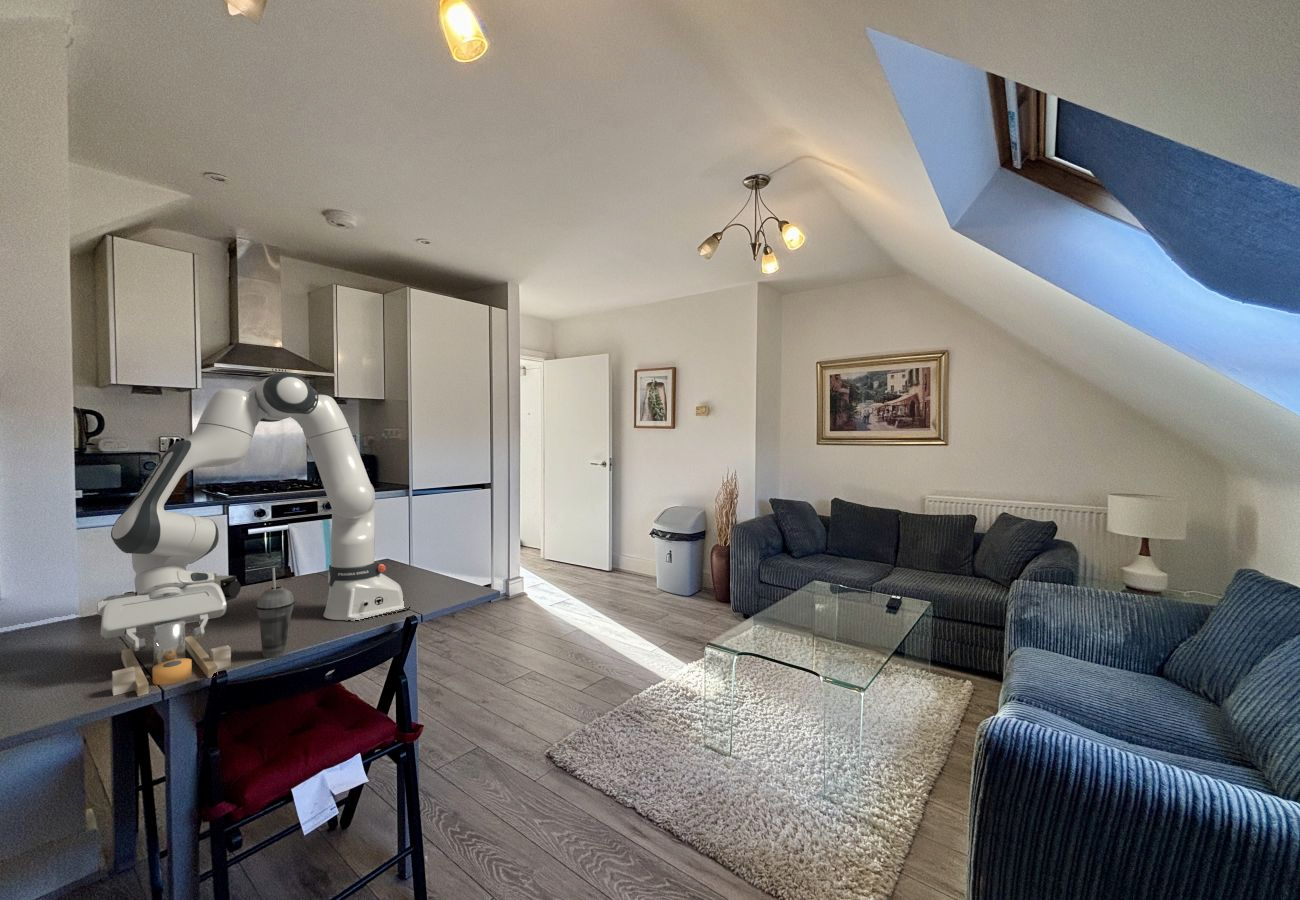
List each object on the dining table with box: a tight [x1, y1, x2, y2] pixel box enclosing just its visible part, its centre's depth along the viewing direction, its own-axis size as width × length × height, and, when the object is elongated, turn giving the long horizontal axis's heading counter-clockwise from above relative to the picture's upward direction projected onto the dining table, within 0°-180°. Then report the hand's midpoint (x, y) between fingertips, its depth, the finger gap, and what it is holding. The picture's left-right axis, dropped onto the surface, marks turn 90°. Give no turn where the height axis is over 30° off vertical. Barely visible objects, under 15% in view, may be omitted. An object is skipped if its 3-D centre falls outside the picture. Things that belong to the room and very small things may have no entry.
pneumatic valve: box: [213, 573, 242, 616], centre depth 146 cm, size 6×12×12 cm, turn 89°
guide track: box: [111, 635, 232, 697], centre depth 113 cm, size 18×26×4 cm
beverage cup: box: [255, 567, 295, 659], centre depth 121 cm, size 7×7×20 cm
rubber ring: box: [152, 657, 193, 686], centre depth 108 cm, size 6×6×3 cm
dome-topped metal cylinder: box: [153, 619, 186, 667], centre depth 112 cm, size 5×5×10 cm
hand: (171, 642), depth 111 cm, fingers open, 8 cm apart
